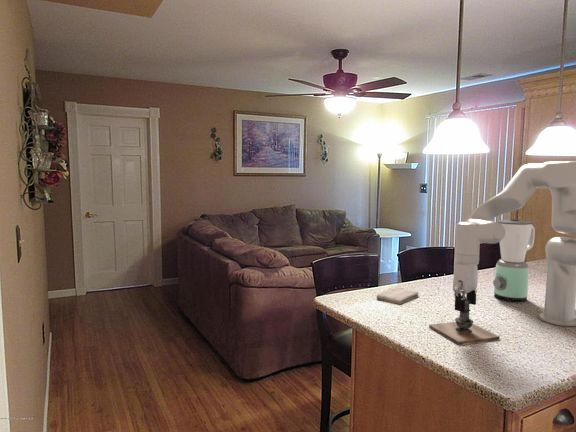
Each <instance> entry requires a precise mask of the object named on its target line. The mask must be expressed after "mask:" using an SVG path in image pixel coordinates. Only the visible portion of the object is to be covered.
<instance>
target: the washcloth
mask: <svg viewBox="0 0 576 432" xmlns="http://www.w3.org/2000/svg"><path fill="white" fill-rule="evenodd" d="M418 297H419V291H416V290H409V289H405V288H402V287H396V286H395V287H394V288H392V287H391V288H388V289H385V290H383V291H381V292H379V293H377V294H376V299H377V300H379V301H384V302H388V303H392V304H394V305H395V304H397V305H402V304H405V303H407V302H409V301H411V300H413V299H415V298H418Z"/></svg>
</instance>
